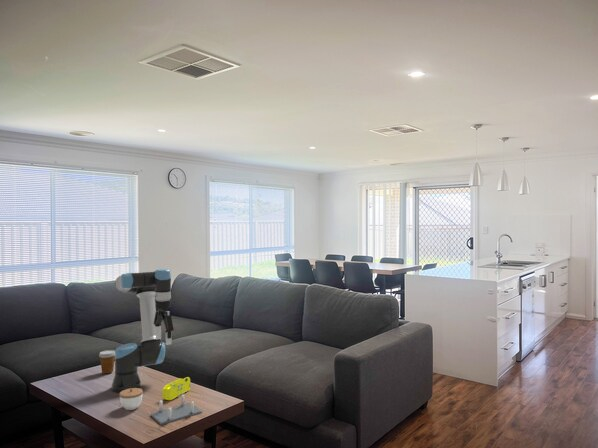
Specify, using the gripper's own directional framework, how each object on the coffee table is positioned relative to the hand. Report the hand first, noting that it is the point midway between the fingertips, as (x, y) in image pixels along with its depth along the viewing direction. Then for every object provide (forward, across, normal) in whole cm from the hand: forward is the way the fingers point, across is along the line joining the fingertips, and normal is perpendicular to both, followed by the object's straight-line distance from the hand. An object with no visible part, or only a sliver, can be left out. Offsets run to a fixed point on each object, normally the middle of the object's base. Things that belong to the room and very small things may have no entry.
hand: (163, 341), depth 228 cm
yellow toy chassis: (+31, -4, +9) cm, 33 cm away
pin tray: (+31, +18, -1) cm, 36 cm away
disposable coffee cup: (+31, -67, -9) cm, 74 cm away
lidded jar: (+31, -4, -15) cm, 35 cm away
